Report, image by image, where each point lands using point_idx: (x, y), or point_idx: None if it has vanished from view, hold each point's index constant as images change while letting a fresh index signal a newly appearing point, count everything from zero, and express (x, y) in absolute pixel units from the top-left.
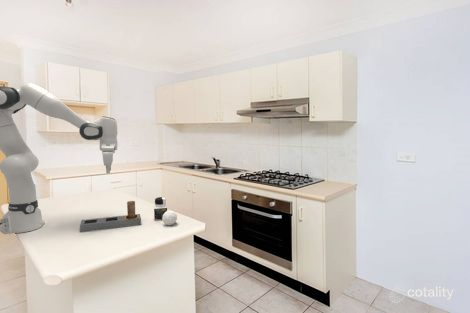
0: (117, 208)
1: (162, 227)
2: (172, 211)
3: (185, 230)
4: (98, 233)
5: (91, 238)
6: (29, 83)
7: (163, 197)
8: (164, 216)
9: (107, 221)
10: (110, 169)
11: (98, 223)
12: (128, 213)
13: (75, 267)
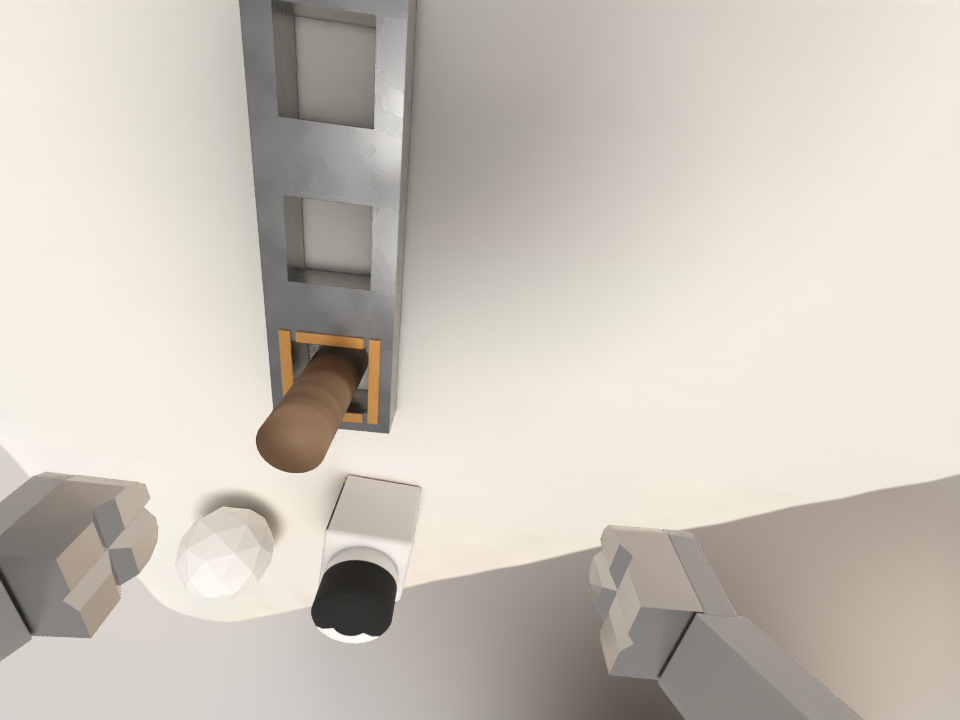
0: (785, 318)
1: (207, 483)
2: (200, 595)
3: None
4: (192, 127)
5: (88, 68)
6: None
7: (358, 640)
8: (192, 539)
9: (278, 209)
10: (604, 615)
11: (251, 134)
12: (302, 374)
13: None
